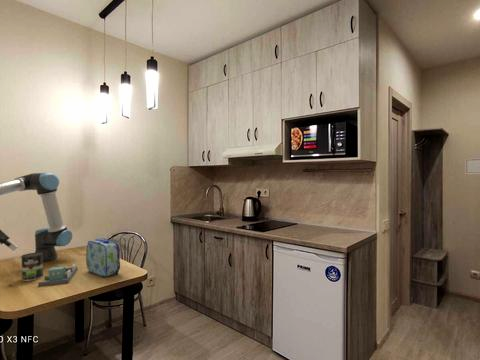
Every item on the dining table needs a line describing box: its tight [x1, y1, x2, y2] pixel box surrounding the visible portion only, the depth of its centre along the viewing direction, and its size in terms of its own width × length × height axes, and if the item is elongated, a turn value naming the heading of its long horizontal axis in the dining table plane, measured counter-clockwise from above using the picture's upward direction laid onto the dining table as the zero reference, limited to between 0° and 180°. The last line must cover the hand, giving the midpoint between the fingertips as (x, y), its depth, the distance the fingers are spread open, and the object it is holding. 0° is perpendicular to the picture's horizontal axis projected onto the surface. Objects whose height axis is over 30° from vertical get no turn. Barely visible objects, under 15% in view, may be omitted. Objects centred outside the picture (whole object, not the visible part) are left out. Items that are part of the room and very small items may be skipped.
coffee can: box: [21, 252, 44, 282], centre depth 169 cm, size 10×10×14 cm
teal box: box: [48, 265, 67, 281], centre depth 163 cm, size 6×7×8 cm
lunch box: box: [85, 238, 121, 278], centre depth 176 cm, size 26×11×21 cm, turn 53°
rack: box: [37, 264, 78, 287], centre depth 169 cm, size 25×14×5 cm, turn 19°
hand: (15, 248), depth 158 cm, fingers closed
